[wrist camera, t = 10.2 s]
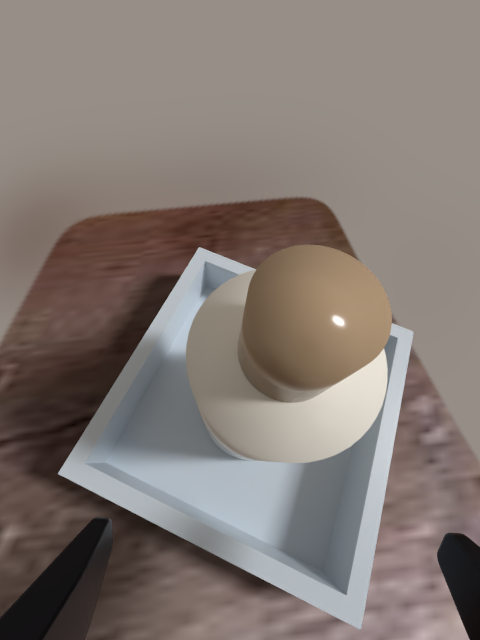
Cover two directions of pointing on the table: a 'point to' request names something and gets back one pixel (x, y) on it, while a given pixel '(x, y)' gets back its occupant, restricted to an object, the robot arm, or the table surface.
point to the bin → (239, 467)
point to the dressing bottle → (291, 356)
